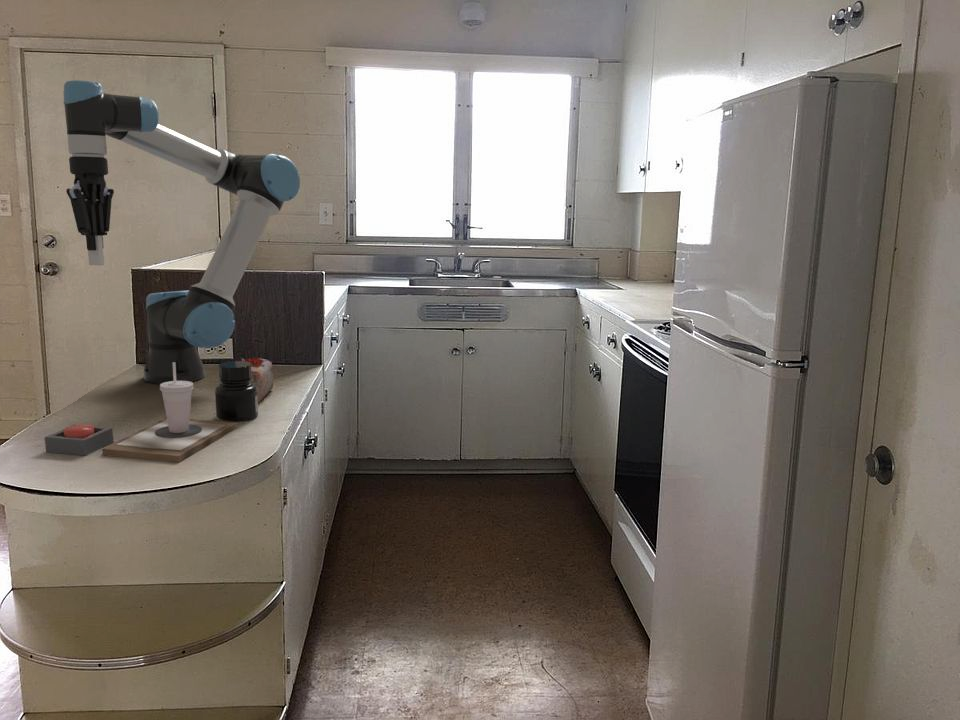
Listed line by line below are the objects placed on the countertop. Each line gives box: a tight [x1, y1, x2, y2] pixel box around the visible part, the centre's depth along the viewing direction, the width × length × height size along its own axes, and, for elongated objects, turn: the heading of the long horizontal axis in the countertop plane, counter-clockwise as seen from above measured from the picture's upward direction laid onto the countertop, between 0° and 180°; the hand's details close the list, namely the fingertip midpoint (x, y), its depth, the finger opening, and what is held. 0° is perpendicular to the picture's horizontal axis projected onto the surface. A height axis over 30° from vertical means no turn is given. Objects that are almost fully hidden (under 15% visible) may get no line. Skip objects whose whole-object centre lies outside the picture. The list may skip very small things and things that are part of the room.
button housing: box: [44, 424, 114, 456], centre depth 155 cm, size 8×8×3 cm
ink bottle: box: [214, 360, 259, 422], centre depth 176 cm, size 10×9×12 cm
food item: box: [241, 356, 274, 404], centre depth 193 cm, size 14×8×10 cm, turn 1°
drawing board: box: [101, 417, 238, 463], centre depth 160 cm, size 22×16×2 cm
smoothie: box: [159, 362, 194, 433], centre depth 161 cm, size 6×6×14 cm
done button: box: [63, 423, 95, 438], centre depth 155 cm, size 5×5×2 cm
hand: (96, 264), depth 178 cm, fingers closed
